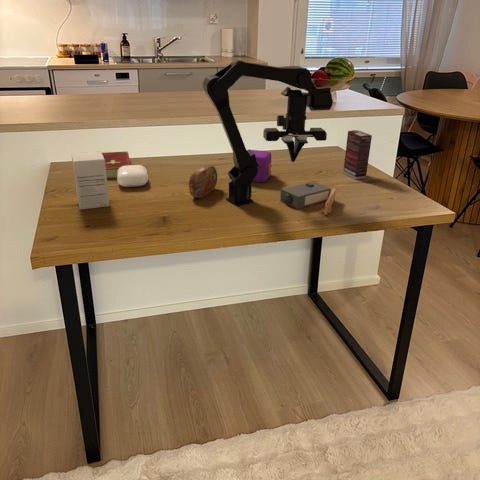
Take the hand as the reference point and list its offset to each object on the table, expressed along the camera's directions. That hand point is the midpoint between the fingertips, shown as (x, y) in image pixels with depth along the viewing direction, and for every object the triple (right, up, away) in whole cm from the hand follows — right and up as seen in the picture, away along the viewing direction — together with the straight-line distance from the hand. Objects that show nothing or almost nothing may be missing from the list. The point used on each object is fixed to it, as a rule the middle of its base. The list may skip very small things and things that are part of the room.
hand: (292, 161), depth 150 cm
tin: (-29, -10, +7) cm, 31 cm away
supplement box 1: (-62, -14, -3) cm, 63 cm away
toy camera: (-11, -2, +23) cm, 25 cm away
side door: (+12, -14, -2) cm, 19 cm away
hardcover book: (-64, +1, +29) cm, 70 cm away
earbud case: (-54, -5, +15) cm, 56 cm away
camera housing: (+4, -12, +3) cm, 13 cm away
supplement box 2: (+26, -1, +27) cm, 37 cm away
